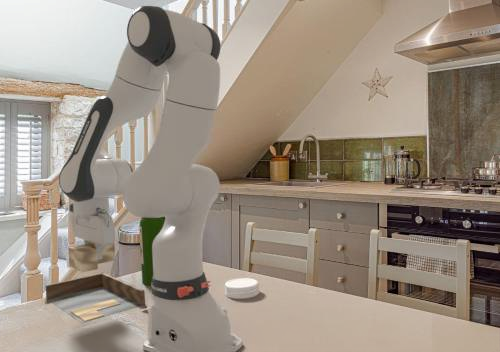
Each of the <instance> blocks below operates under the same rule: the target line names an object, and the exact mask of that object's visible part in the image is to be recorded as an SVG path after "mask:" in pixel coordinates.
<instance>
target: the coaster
mask: <svg viewBox="0 0 500 352" xmlns="http://www.w3.org/2000/svg"><path fill="white" fill-rule="evenodd" d="M259 282H260V281H258V280H256V279H255V278H249V277H239V278H233V279H230V280H227V281H226V282H225V284H224V291H225V292H224V294H225V296H226V297H228V299H229V298H230V299H234V300H246V299H253V298H255V297H257V296H258V295H259V294H260V290H259V289H260V283H259Z"/></svg>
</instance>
